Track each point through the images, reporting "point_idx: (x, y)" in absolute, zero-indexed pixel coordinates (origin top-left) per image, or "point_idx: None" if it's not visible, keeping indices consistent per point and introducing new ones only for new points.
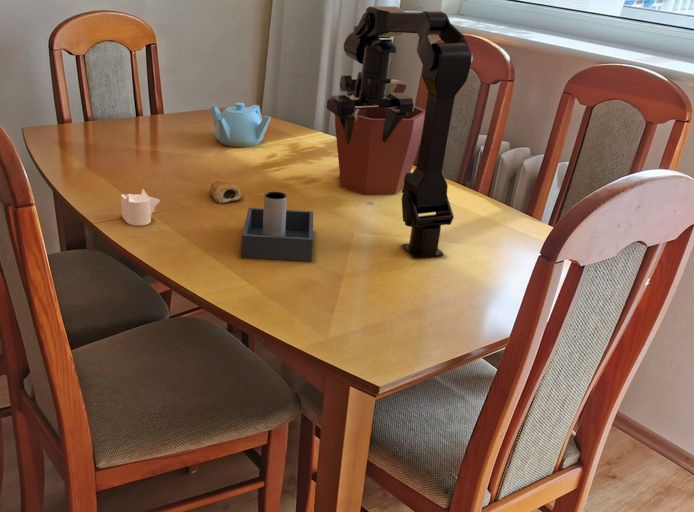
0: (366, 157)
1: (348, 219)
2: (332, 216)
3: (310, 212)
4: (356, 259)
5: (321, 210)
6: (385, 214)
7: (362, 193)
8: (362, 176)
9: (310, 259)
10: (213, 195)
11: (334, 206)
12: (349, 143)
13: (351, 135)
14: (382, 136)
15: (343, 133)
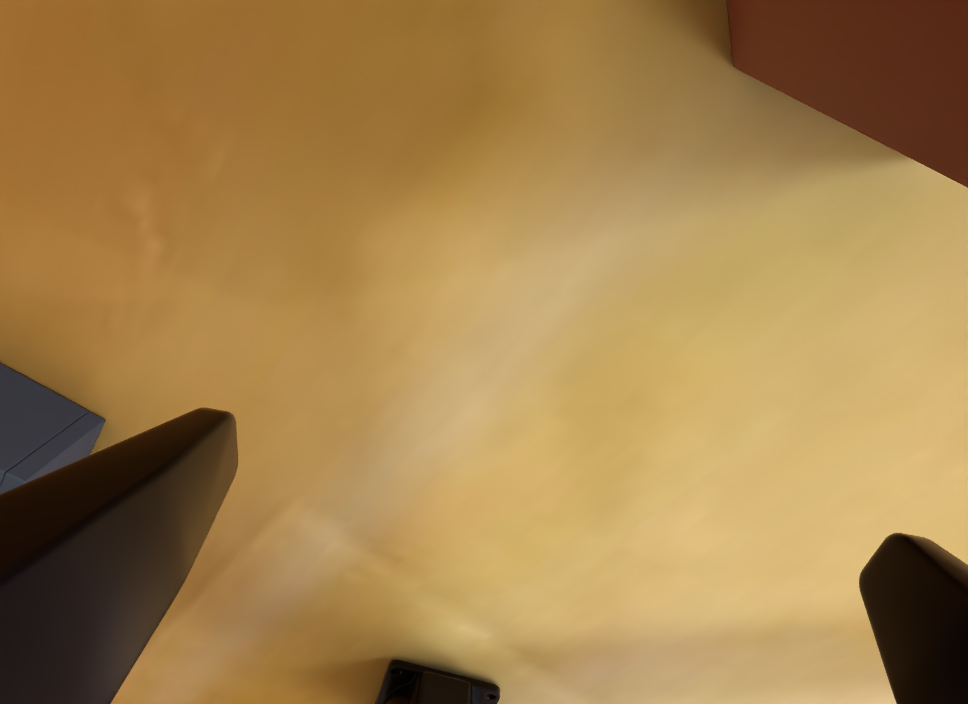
0: (825, 87)
1: (352, 372)
2: (292, 303)
3: (4, 488)
4: (181, 654)
5: (275, 196)
6: (577, 401)
7: (731, 34)
8: (760, 29)
9: None
10: None
11: (387, 172)
12: (226, 491)
13: (123, 674)
14: (947, 578)
15: (17, 493)
